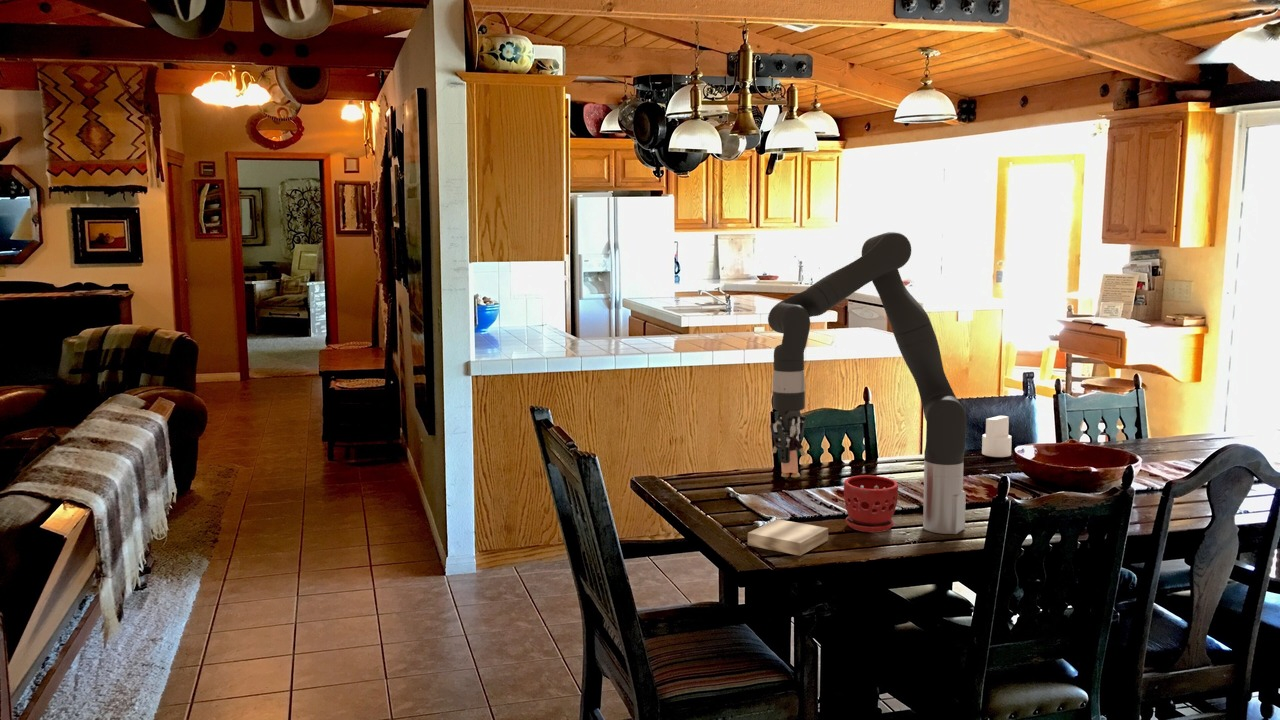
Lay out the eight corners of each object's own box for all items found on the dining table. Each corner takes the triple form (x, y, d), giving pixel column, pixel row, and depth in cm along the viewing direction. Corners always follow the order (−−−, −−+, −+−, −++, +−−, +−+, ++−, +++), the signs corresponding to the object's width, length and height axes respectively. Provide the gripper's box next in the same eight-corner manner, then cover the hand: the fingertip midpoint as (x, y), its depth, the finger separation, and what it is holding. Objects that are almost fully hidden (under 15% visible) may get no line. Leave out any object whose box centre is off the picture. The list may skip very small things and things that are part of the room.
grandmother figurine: (804, 474, 243) (805, 421, 242) (805, 478, 239) (806, 424, 238) (771, 473, 244) (772, 421, 243) (771, 477, 240) (772, 423, 239)
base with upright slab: (991, 449, 340) (992, 414, 338) (1016, 454, 333) (1017, 417, 331) (976, 453, 334) (977, 417, 332) (1001, 458, 327) (1002, 421, 326)
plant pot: (833, 528, 255) (833, 481, 253) (862, 517, 264) (863, 472, 262) (878, 539, 245) (879, 490, 244) (907, 527, 255) (908, 480, 253)
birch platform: (828, 540, 245) (828, 528, 245) (800, 555, 234) (800, 543, 234) (777, 530, 254) (777, 519, 253) (747, 545, 243) (747, 532, 242)
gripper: (788, 394, 231) (788, 469, 234) (817, 386, 242) (816, 457, 245) (759, 391, 236) (759, 465, 238) (789, 383, 247) (789, 453, 249)
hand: (788, 460), depth 241 cm, fingers closed on grandmother figurine, 3 cm apart
